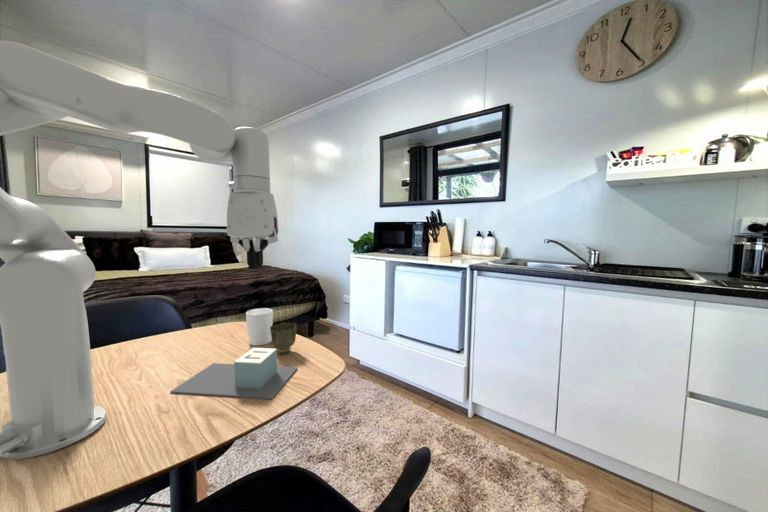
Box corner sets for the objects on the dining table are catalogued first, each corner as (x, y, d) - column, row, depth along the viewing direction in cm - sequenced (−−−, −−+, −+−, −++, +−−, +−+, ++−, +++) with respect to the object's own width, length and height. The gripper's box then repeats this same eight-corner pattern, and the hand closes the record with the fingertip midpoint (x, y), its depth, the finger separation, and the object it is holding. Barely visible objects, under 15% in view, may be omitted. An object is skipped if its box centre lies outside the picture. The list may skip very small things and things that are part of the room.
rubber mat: (271, 399, 62) (271, 397, 62) (170, 393, 65) (170, 391, 65) (297, 369, 76) (297, 367, 76) (213, 364, 79) (213, 363, 78)
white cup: (278, 340, 96) (278, 310, 95) (257, 348, 90) (256, 316, 89) (263, 335, 100) (262, 306, 100) (241, 343, 94) (240, 312, 93)
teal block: (234, 361, 66) (235, 387, 66) (260, 362, 65) (260, 388, 66) (253, 347, 74) (254, 370, 74) (276, 348, 73) (277, 372, 74)
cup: (270, 349, 89) (270, 323, 89) (296, 345, 92) (295, 320, 91) (270, 359, 82) (269, 330, 82) (298, 355, 85) (297, 328, 84)
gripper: (209, 185, 63) (213, 270, 65) (277, 184, 62) (280, 271, 64) (230, 189, 71) (233, 266, 72) (291, 189, 70) (293, 266, 71)
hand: (255, 268), depth 68 cm, fingers closed
